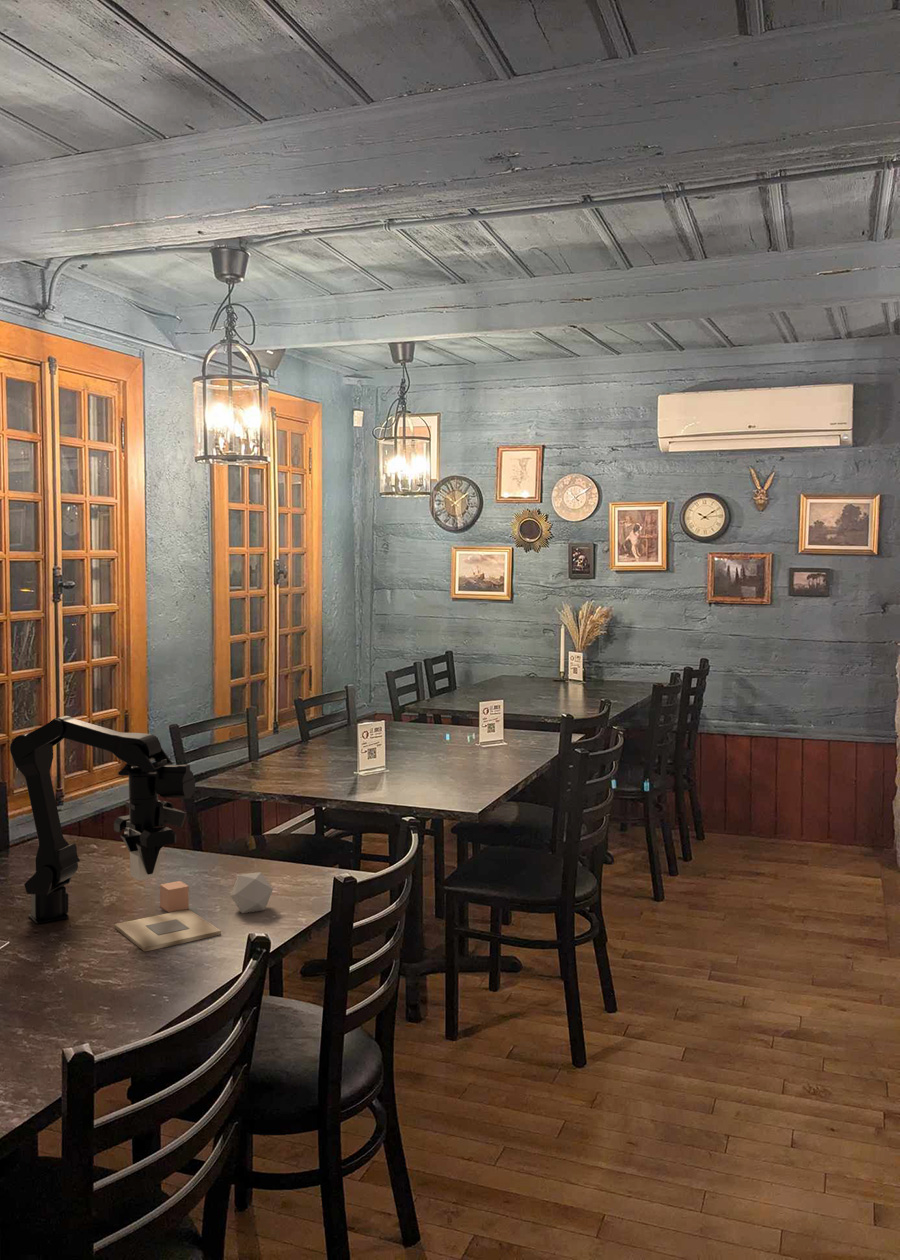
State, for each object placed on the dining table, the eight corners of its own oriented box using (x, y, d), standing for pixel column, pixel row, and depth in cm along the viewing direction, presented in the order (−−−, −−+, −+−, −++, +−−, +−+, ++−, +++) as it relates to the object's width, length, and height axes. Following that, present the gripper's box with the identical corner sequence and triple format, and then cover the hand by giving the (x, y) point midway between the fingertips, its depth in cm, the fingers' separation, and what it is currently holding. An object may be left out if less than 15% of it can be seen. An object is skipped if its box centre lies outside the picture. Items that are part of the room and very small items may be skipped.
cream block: (138, 880, 205) (138, 856, 205) (130, 875, 209) (129, 851, 208) (160, 876, 208) (160, 852, 208) (151, 871, 212) (151, 848, 211)
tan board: (144, 951, 195) (144, 947, 195) (114, 927, 208) (114, 923, 208) (220, 934, 205) (220, 930, 205) (188, 912, 218) (188, 908, 218)
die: (267, 904, 226) (241, 869, 226) (286, 893, 220) (260, 858, 220) (242, 926, 220) (216, 891, 220) (262, 916, 214) (235, 880, 214)
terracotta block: (168, 912, 218) (168, 889, 217) (160, 906, 221) (160, 884, 221) (188, 908, 221) (188, 886, 220) (179, 902, 224) (180, 880, 224)
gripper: (199, 798, 205) (201, 874, 206) (162, 784, 220) (164, 854, 220) (146, 806, 198) (148, 884, 199) (112, 791, 213) (113, 864, 214)
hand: (145, 871), depth 208 cm, fingers closed on cream block, 5 cm apart
